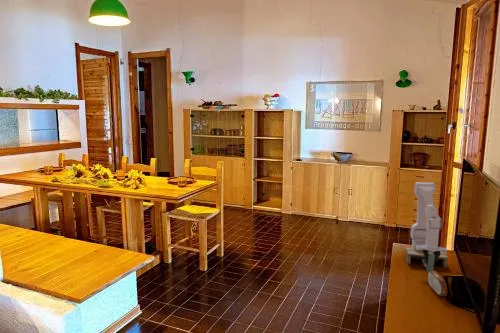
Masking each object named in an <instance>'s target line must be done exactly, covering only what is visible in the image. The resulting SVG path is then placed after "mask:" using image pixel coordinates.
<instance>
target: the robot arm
mask: <svg viewBox="0 0 500 333" xmlns="http://www.w3.org/2000/svg"><path fill="white" fill-rule="evenodd" d="M413 187H414V191H413V193H414V195H415V196H416V199H417V200H416V201H417V202H416V203H417V204H416V222H415V223H414V224H412V225H411V226H410V234H409V235H410V238H411V240H412V241H411V248H415V249H417V250H422V251H423V253H424V256H425V263H426V264H428V255H429V253H428V251H433V253H434V254H435V258H434V266H435V265H436V263H437V261H436V260H437V259H438V257H439V256H440V254H441V253H440V252H444V253H445V254H447V251H448V249H447V247H442V246H439V237H440V236H439V234H440V230H441V229H442V226H443V224H442V218H441V217H440V215H439V213H438V210H437V206H435V205H434V196H433V195H434V194H435V191H436V185H435V182H421V181H420V182H418V181H415V183H414V186H413Z"/></svg>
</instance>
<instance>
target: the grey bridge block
mask: <svg viewBox="0 0 500 333" xmlns="http://www.w3.org/2000/svg"><path fill="white" fill-rule="evenodd" d="M428 252H433V251H428ZM404 253H405V255H404V258H405V261H406V263H408V264H407V265H412V264H411V263H412V262H411V260H412V259H411V258H415V259H414V260H420V261H422V258H425V256H424V253H423V251H422V250H417V249H415V248H412V247H405V252H404ZM440 253H441V254H440V256H439V257H438V259H437V260H436V262H440V263H441V265H442V268H444V269H445V268H446V269H447V268H448V258H449V257H448V255H447V253H444V252H440Z"/></svg>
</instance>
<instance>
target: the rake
mask: <svg viewBox="0 0 500 333" xmlns="http://www.w3.org/2000/svg"><path fill="white" fill-rule="evenodd" d="M428 253H429V255H428V264H426V267H425V270H426V272H427V273H428V272H429V271H434V266H435V265H434V258H435V254H434V253H433V252H428ZM424 262H425V258H422V260H421V263H422V264H423V263H424Z"/></svg>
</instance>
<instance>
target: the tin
mask: <svg viewBox="0 0 500 333" xmlns="http://www.w3.org/2000/svg"><path fill="white" fill-rule="evenodd" d="M427 282H428V285H429V287H430V288H431V289H432V290H433V291H434V292H435V294H436V295H438V296H440V297H446V296H447V294H448V287H447V286H448V284H447V283H446V280H445V279H444V278H443V277H442V276H441V275H440V274H439V273H438V272H437V271H436V270H433V271H429V272H427Z"/></svg>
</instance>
